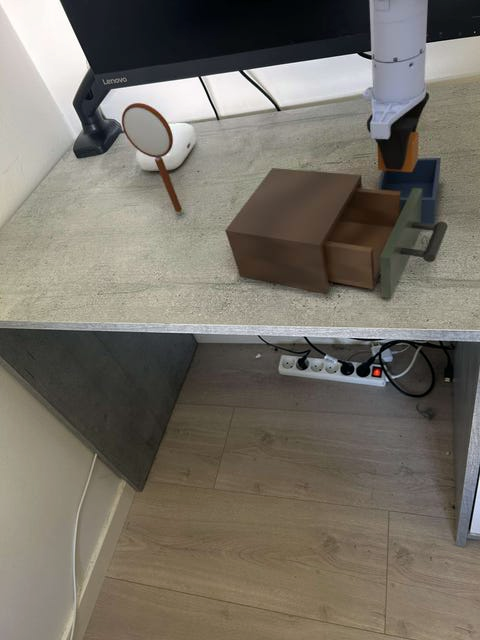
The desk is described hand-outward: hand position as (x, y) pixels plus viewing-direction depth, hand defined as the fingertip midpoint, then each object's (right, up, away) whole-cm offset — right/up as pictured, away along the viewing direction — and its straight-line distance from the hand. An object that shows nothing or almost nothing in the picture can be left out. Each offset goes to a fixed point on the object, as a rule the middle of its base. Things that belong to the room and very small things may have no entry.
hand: (398, 160), depth 64 cm
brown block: (0, 0, +1) cm, 1 cm away
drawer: (-2, -13, +2) cm, 13 cm away
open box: (+4, -4, +9) cm, 11 cm away
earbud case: (-35, +12, +36) cm, 51 cm away
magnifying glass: (-31, -3, +22) cm, 38 cm away
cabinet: (-11, -11, +8) cm, 18 cm away
